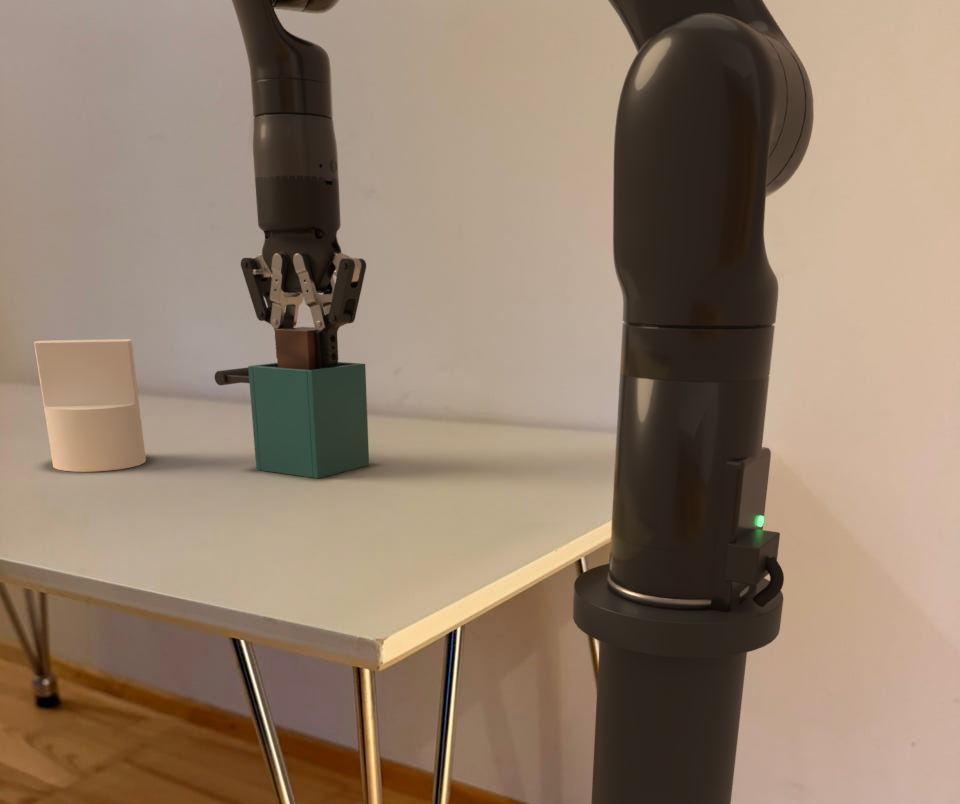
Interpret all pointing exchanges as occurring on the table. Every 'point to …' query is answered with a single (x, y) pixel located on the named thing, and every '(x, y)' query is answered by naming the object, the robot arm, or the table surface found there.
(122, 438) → the base with upright slab
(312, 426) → the teal open storage bin
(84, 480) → the table surface
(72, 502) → the table surface
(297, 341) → the block
